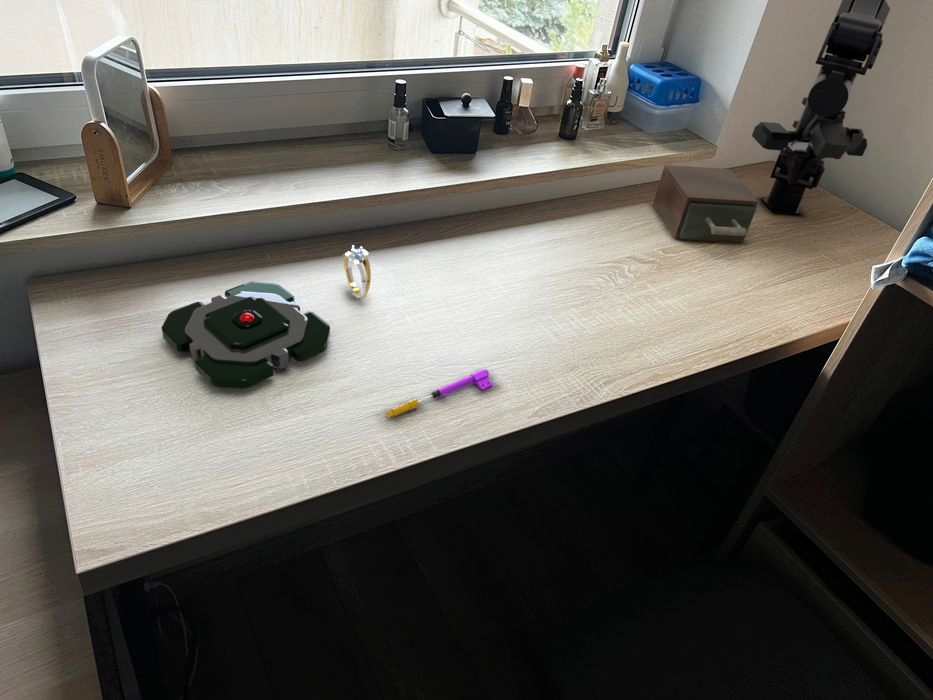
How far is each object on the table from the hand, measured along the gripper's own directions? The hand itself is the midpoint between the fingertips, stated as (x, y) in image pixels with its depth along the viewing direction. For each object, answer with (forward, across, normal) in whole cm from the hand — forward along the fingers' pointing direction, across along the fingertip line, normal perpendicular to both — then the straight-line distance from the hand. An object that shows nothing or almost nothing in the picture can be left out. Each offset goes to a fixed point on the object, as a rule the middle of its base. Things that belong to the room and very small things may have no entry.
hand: (791, 183), depth 131 cm
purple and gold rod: (+11, -65, -48) cm, 82 cm away
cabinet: (+12, -13, +5) cm, 18 cm away
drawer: (+11, -13, +1) cm, 17 cm away
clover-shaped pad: (+11, -91, -37) cm, 99 cm away
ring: (+11, -77, -25) cm, 82 cm away
